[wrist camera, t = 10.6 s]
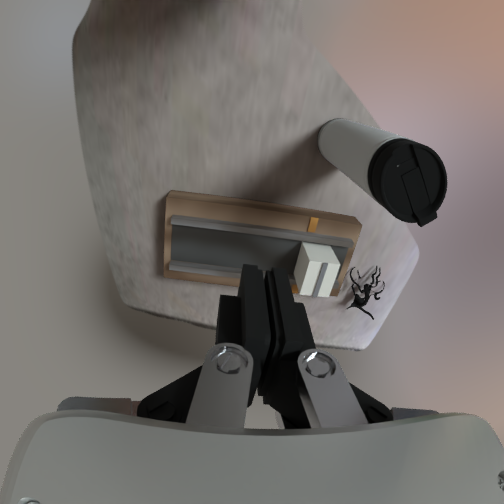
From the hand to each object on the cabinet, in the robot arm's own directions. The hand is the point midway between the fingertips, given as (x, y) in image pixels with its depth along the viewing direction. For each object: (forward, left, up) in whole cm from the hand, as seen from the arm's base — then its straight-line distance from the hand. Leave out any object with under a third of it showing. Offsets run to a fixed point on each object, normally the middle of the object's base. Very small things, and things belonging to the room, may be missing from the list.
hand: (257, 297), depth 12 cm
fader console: (+12, +4, -29) cm, 32 cm away
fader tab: (+12, +11, -26) cm, 31 cm away
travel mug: (-4, +12, -29) cm, 32 cm away
